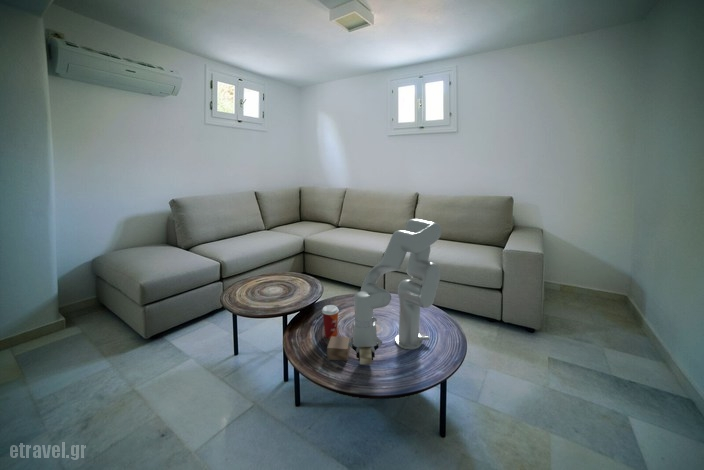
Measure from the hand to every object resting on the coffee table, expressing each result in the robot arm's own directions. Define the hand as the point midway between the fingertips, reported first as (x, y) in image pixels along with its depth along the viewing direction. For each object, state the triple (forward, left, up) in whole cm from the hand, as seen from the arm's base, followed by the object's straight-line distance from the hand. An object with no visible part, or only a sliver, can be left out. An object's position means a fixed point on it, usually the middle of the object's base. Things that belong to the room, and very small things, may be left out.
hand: (365, 358), depth 130 cm
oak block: (0, 0, -1) cm, 1 cm away
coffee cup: (+17, -22, -3) cm, 28 cm away
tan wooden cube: (+12, -7, -3) cm, 14 cm away
